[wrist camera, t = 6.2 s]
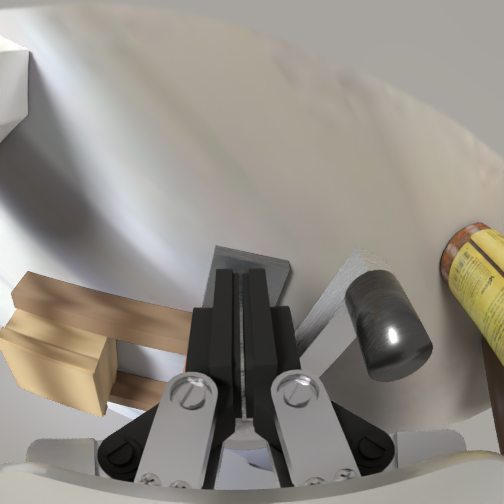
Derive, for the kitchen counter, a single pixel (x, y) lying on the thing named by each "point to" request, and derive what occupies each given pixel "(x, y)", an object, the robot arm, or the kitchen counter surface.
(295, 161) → the kitchen counter surface
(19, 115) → the jar
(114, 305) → the bay
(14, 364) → the tan wooden block
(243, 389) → the winch post
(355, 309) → the crank
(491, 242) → the sauce bottle
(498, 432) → the plant pot
